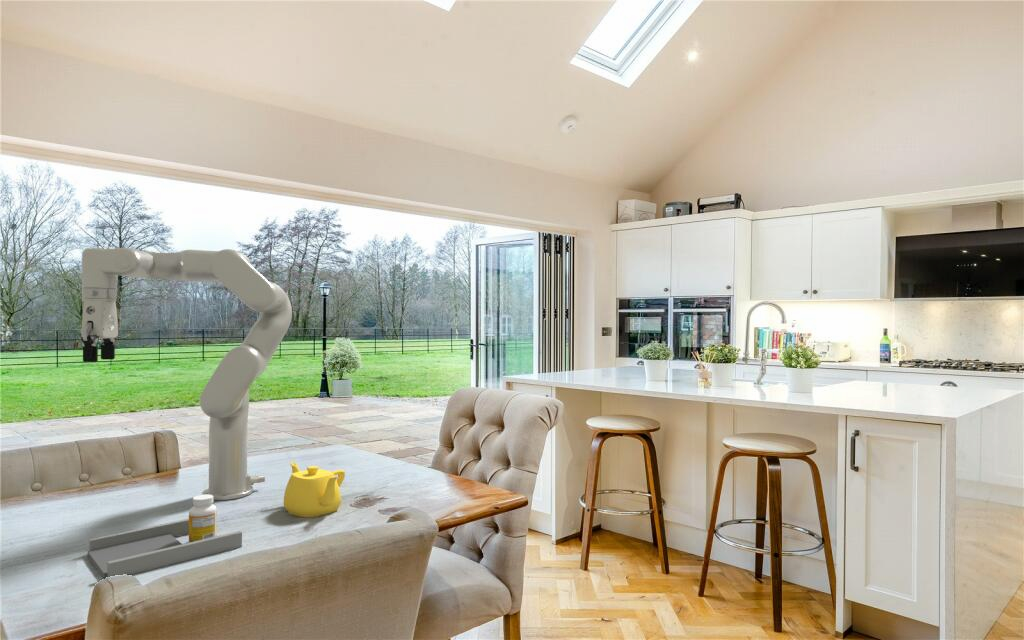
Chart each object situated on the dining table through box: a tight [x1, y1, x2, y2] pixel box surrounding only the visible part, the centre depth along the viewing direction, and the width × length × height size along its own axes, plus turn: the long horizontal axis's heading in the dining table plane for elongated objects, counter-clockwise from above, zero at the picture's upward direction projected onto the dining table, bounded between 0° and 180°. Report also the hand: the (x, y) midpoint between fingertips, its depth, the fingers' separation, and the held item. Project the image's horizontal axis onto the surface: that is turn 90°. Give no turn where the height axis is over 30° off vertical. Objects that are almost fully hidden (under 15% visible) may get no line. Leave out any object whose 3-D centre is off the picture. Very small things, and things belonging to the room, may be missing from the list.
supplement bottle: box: [188, 494, 218, 543], centre depth 132 cm, size 5×5×10 cm
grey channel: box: [87, 518, 243, 579], centre depth 127 cm, size 24×17×3 cm
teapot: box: [283, 461, 346, 518], centre depth 156 cm, size 22×16×11 cm
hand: (99, 360), depth 161 cm, fingers open, 9 cm apart
